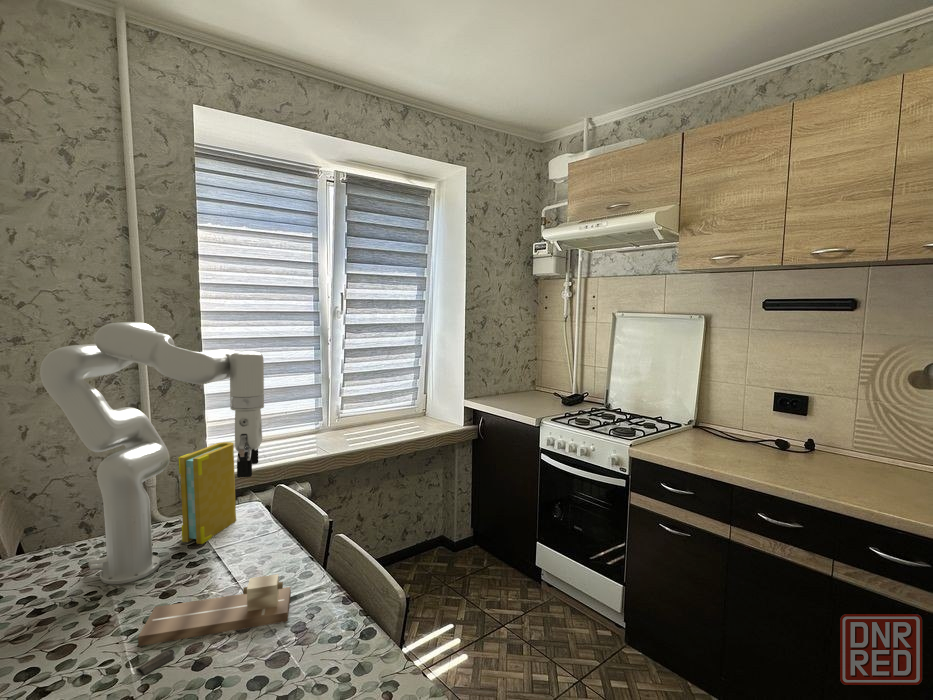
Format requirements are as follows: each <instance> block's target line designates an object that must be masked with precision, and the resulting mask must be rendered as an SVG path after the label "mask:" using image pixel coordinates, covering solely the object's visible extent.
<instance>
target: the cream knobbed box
mask: <svg viewBox="0 0 933 700" xmlns="http://www.w3.org/2000/svg"><path fill="white" fill-rule="evenodd" d="M279 575H280V574H278V573H277V574H270V575H264V576H263V575H262V576H256V577H250V578H249V580H248V584H247V586H244V587H243V589H242V592H243V593H242V594H247V609H248V611H253V610H260V609H266V608H272V607H277V605H278V599H279V589H283V588H284V587H283V585H284V583H283V581H280V579H279Z"/></svg>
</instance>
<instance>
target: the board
mask: <svg viewBox="0 0 933 700" xmlns="http://www.w3.org/2000/svg"><path fill="white" fill-rule="evenodd" d="M291 587H292V586H286V587H283V589H279V599H278V605H277V607H272V608H266V609H260V610H253V611H248V609H247V594H243V593H240V594H234V595H226V596H218V597H213V598H207V599H206V598H205V599H199V600H192V601H187V602H185V601H184V602H179V603H173V604H165V605H159V606H158V605H157V606H154V608H153V610H152V611H151V613H150V615H149V617H148V619H147V620H146V622H145V623H144V626H143V627H142V629H141V631H140V632H139V635H138V636H137V640H138V641H137V642H138V643H137V644H138V647H142V646H147V645H154V644H159V643H164V642H171V641H177V640H183V639H190V638H195V637H196V638H197V637H200V636H201V637H202V636H208V635H214V634H219V633H225V632H226V633H227V632H232V631H236V630H237V631H239V630H243V629H249V628H256V627H261V626H267V625H273V624H279V623H285V622H288V621H289V613H290V612H289V611H290V604H291V597H292V595H291V590H292V589H291Z"/></svg>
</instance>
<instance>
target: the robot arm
mask: <svg viewBox="0 0 933 700" xmlns="http://www.w3.org/2000/svg"><path fill="white" fill-rule="evenodd" d="M93 337H94V338H93V341H94V343H90V344H88V343H84V344H74V345H68V346H62V347H58V348H56V349H54V350H52V351H50V352H48V354H46V356H44V358H43V360H42V362H41V364H40V369H39V370H40V371H39V372H40V373H39V374H40V381H41V382H42V383H41V384H42V386H43V387H44V389H45V390H46V392H47V393H48V395H49V396H50V397H51V398H52V400H54V402H55V403H56V404H57V405H58V406H59V408H60V409H61V411H63V413H64V415H65V416H66V418H67V420H68V421H69V423H70V424H71V426H72V428H73V429H74V431H75V432H76V434H77V435H78V437H79V439H80V440H81V442H82V443H83V444H84V446H85V447H86V448H87V449H88V450H90V451H91V452H94V453H101V452H102V453H103V452H107V451H109V450H112V449H115V448H118V447H121V446H123V447H124V449H121V450H119V451H117V452H113V453H112V454H110V455H108V456H106V457H105V458H104V459H103V460H102V461H101V462H100V463H99V465H98V466H97V470H96V480H97V482H98V483H97V484H98V487H99V489H100V493H101V496H102V503H103V518H104V530H105V544H106V545H105V548H106V549H105V550H106V556H105V555H104V557H97V558H90V559H89V561H88V568H89V571H97V570H101V572H100V573H99V579H100V581H101V582H102V583H104V584H108V585H121V584H128V583H132V582H135V581H138V580H141V579H143V578H145V577H148V576H149V575H151V574H153V573H154V572H155V571H156V570H158V569H159V567H160V565H161V559H160V558H159V557H158V556H157V555H154V554H153V540H152V539H153V538H152V537H153V536H152V520H151V519H152V518H151V516H152V515H151V500H150V496H149V494H148V493H147V491H146V489H145V487H144V485H143V483H144V482H145V481H147V480H149V479H151V478H153V477H155V476H158V475H159V474H161V473H162V472H164V471H165V470H166V469H167V467H168V466H169V463H170V459H171V457H170V452H169V449H168V448H167V445H166V443H165V442H164V440H163V439H162V437H161V436H160V434H159V433H158V431H157V429H156V428H155V426H154V425H153V423H152V422H151V420H150V419H149V417H148V416H147V414H145V413H144V412H142V411H141V410H140V409H137V408H135V407H131V406H130V407H129V406H124V407H119V408H115V409H113V408H112V407H111V406H110V405H109V403H108V401H107V400H106V399H105V397H104V395H103V394H102V393H101V392H100V391H99V390H98V389H97V388H95V386H92V385H91V384H89V383H88V382H87V381H85V379H89V378H95V377H102V376H108V375H111V374H115V373H117V372H119V371H121V370H123V369H125V368H126V367H128V366H131V365H132V364H133V363H134V364H135V363H136V364H140V365H144V366H148V367H152V368H153V369H155V370H156V372H158V373H159V374H160V375H162V376H165V377H167V378H170V379H172V380H176V381H180V382H184V383H188V384H194V385H205V384H210V383H211V384H212V383H214V382H218V381H220V382H221V381H223V380H227V379H229V395H230V396H229V398H230V399H229V405H230V406H229V407H230V408H229V409H230V410H231V411H234V446H235V447H234V450H236V451H237V455H236V457H237V458H236V478H239V479H240V478H251V477H252V476H253V465H257V464H258V463H259V448H260V445H261V444H262V443H263V429H262V427H263V425H262V411H261V410H262V409H263V408H265V385H264V384H265V382H264V381H265V379H264V378H265V377H264V375H265V374H264V371H265V370H264V369H265V367H264V365H265V363H264V362H265V361H264V355H263V354H262V353H261V352H259V351H251V350H250V351H237V350H236V351H235V350H232V349H231V350H230V349H225V348H224V349H223V348H222V349H220V348H219V349H214V350H213V349H212V350H207V351H200V352H199V351H194V350H189V349H185V348H181V347H178V346H175V341H174V339H173V338H172V337H171V335H169V334H165V333H163V332H158V331H157V330H156V329H155V328H154V327H153V326H151V325H150V324H148V323H145V322H142V321H141V322H140V321H127V322H123V321H122V322H121V321H119V322H110V323H108V324H105V325H103V326H101V327H100V328H99V329H98V330H97V331H96V332H95V334H94V336H93Z"/></svg>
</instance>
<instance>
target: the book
mask: <svg viewBox="0 0 933 700" xmlns="http://www.w3.org/2000/svg"><path fill="white" fill-rule="evenodd" d="M234 446H235V444H234V442H230V441H226V442H225V441H223V442H218V443H215V444H214V443H213V444H212V445H209V446H206V447H204V448H201V449H198V450H195V451H193V452H190V453H187V454H184V455H181V456H178V457H177V458H178V474H179V475H180V491H181V493H180V494H181V514H182V525H181V542H183V543H189V542H191V541H193V540H196V544H197V545H198V544H199V545H203V544H205V543H206V542H208V541H209V540H211V539H213V537H214V536H216V535H217V534H219V533H221V532H223V530H224V529H227V528H228V527H230V526H232V525H233V524H235V523H236V521H237V512H236V511H237V509H236V506H237V505H236V479H235V477H236V476H235V454H234V453H235V447H234Z"/></svg>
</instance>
